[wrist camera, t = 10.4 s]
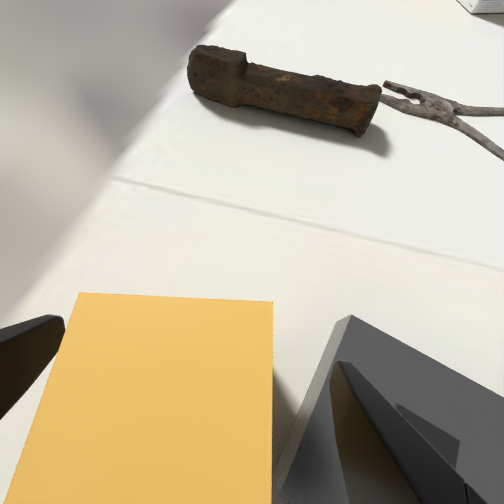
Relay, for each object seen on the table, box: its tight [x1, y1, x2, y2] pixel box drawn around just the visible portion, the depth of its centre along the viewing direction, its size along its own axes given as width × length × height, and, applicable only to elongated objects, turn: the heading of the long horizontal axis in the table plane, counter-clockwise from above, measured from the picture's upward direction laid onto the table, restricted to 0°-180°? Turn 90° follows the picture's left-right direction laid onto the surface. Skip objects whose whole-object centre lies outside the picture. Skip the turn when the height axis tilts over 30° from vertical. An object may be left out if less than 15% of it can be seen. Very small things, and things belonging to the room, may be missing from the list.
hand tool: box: [187, 45, 382, 138], centre depth 24 cm, size 19×4×5 cm, turn 70°
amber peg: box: [4, 292, 273, 504], centre depth 10 cm, size 4×4×11 cm
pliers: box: [379, 81, 504, 161], centre depth 25 cm, size 10×1×20 cm
